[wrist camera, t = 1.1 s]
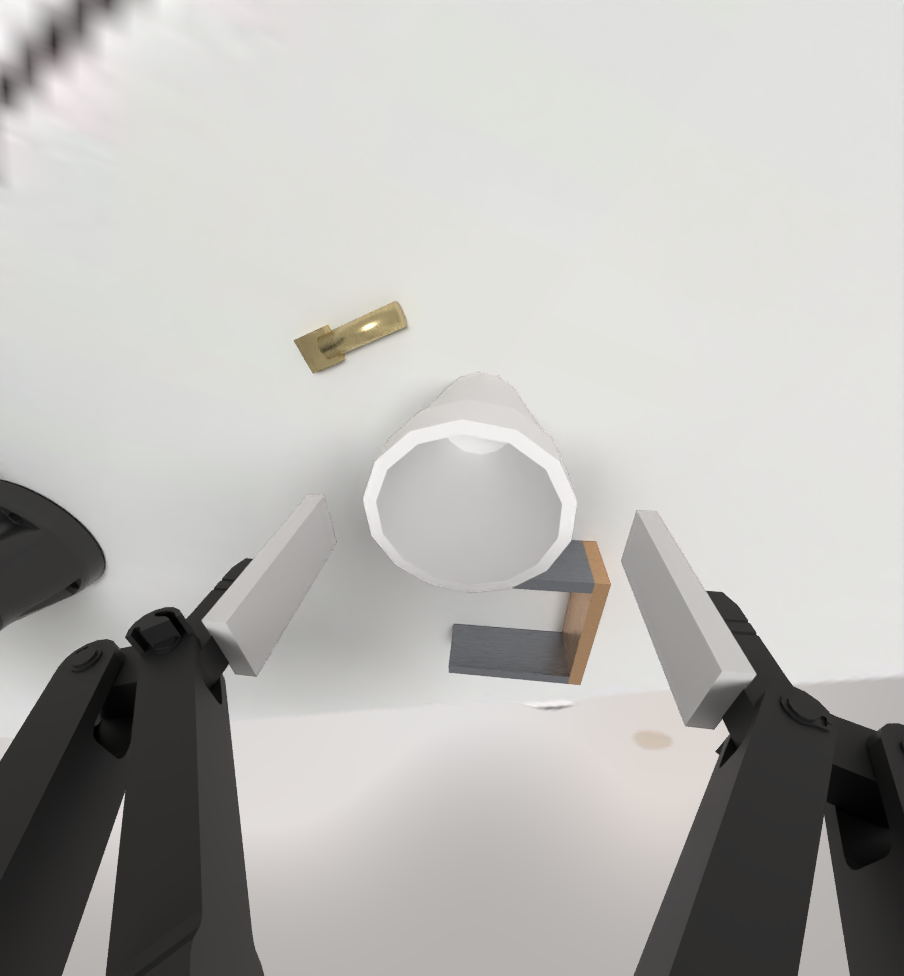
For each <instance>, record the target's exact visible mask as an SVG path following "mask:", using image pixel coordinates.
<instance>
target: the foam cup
mask: <svg viewBox="0 0 904 976" xmlns="http://www.w3.org/2000/svg"><path fill="white" fill-rule="evenodd" d="M363 502H364V507H365V511H366V515H367V519H368V523H369V528H370V532H371V536H372V537H373V538H374V539H375V541H376V542H377V543H378V544H379V546H380V547H381V548H382V549H383V550H384V552H385V553H386V554H387V555H388V556H389V558H390V559H391V560H392V561H393V563H394V564H395V565H396V566H398V567H400V568H401V569H403V570H405V571H407V572H409V573H410V574H412V575H414V576H416V577H417V578H419V579H421V580H423V581H424V582H426V583H428V584H430V585H433V586H438V587H443V588H448V589H453V590H458V591H463V592H468V593H475V592H484V591H493V590H501V589H510V588H513V587H515V586H517V585H519V584H521V583H523V582H525V581H527V580H529V579H531V578H533V577H535V576H537V575H539V574H541V573H543V572H545V571H547V570H548V569H549V567H550V566H551V565H552V564H553V563H554V561H555V560H556V559H557V558H558V556H559V555H560V554H561V553H562V552H563V550H564V549H565V548H566V547H567V545H568V544H569V543H570V542H571V539H572V533H573V526H574V520H575V513H576V507H577V499H576V496H575V493H574V490H573V487H572V484H571V481H570V478H569V475H568V472H567V470H566V468H565V465H564V463H563V461H562V459H561V456H560V454H559V452H558V450H557V447H556V445H555V443H554V441H553V438H552V436H551V435H549V434H548V433H547V432H545V431H544V430H543V429H541V428H540V426H539V425H538V423H537V421H536V420H535V418H534V417H533V415H532V414H531V412H530V411H529V409H528V408H527V406H526V404H525V403H524V401H523V400H522V398H521V397H520V395H519V394H518V392H517V391H516V389H515V388H514V387H513V386H512V385H510V384H509V383H508V382H506V381H505V380H504V379H503V378H501V377H500V376H498V375H493V374H488V373H483V372H477V373H473V374H469V375H465V376H462V377H459V378H458V379H457V380H456V381H455V382H454V383H452V384H451V385H450V386H449V387H448V388H447V389H446V390H444V391H443V392H442V393H441V394H440V395H439V396H438V397H437V398H436V399H435V400H434V401H433V402H432V403H431V404H430V405H429V406H428V407H427V408H426V409H424V410H421V411H420V412H418V413H417V414H416V415H415V416H414V417H413V418H412V419H411V420H409V421H408V422H407V423H406V424H405V425H404V426H403V427H401V428H400V429H399V430H398V431H397V432H396V433H395V434H394V435H392V436H391V437H390V438H389V440H388V441H387V443H386V444H385V446H384V448H383V449H382V451H381V453H380V454H379V456H378V457H377V459H376V461H375V463H374V466H373V469H372V472H371V475H370V478H369V481H368V484H367V488H366V491H365V494H364V497H363Z"/></svg>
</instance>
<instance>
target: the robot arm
mask: <svg viewBox="0 0 904 976" xmlns="http://www.w3.org/2000/svg"><path fill="white" fill-rule="evenodd" d="M336 543H337V541H336V537H335V534H334V530H333V526H332V522H331V519H330V515H329V511H328V507H327V503H326V500H325V496H324V495H312V494H308V495H307V496H306V497H305V498H304V500H303V501H302V502H301V503H300V504H299V506H298V507H297V508H296V509H295V510H294V511H293V513H292V514H291V515H290V516H289V517H288V519H287V520H286V521H285V522H284V523H283V524H282V526H281V527H280V528H279V529H278V530H277V532H276V533H275V534H274V535H273V536H272V537H271V539H270V540H269V541H268V542H267V543H266V545H265V546H264V547H263V548H262V549H261V551H260V552H259V553H258V554H257V555H256V556H255V558H254V559H248V558H245V559H244V560H243V561H241V562H240V563H238V564H237V565H235V566H234V567H232V568H231V569H230V571H229V572H228V573H227V574H226V575H225V576H224V577H223V578H222V581H220V582H219V583H218V584H217V585H216V586H215V587H214V590H212V591H211V592H210V593H209V594H208V595H207V596H206V598H205V599H204V600H203V601H202V602H201V603H200V604H199V605H198V607H197V608H196V609H195V610H194V611H193V612H192V613H191V614H190V616H189V617H188V618H187V619H185V618H184V616H183V615H182V613H181V612H180V610H179V609H176V608H174V607H165V608H161V609H158V610H155V611H153V612H151V613H148V614H146V615H145V616H143V617H142V618H140V619H139V620H138V621H136V622H135V623H134V624H133V625H132V627H131V628H130V629H129V630H128V632H127V635H126V637H125V638H126V639H127V640H128V641H129V643H130V644H131V645H132V646H131V647H126V648H121V649H120V648H119V647H118V646H117V645H116V644H115V643H114V641H112V640H108V639H104V640H97V641H94V642H92V643H89V644H86V645H85V646H83V647H81V648H79V649H78V650H76V651H74V652H73V653H72V654H71V655H69V656H68V657H67V658H66V659H65V660H64V661H63V662H62V663H61V665H60V666H59V667H58V669H57V670H56V672H55V673H54V675H53V677H52V678H51V680H50V682H49V683H48V685H47V686H46V688H45V690H44V691H43V693H42V694H41V696H40V698H39V699H38V701H37V703H36V704H35V706H34V707H33V709H32V711H31V712H30V714H29V715H28V717H27V719H26V720H25V722H24V724H23V725H22V727H21V728H20V730H19V732H18V733H17V735H16V737H15V738H14V740H13V741H12V743H11V745H10V746H9V748H8V749H7V751H6V753H5V754H4V756H3V758H2V759H1V761H0V976H62V973H63V970H64V967H65V964H66V962H67V959H68V956H69V953H70V950H71V947H72V944H73V941H74V938H75V935H76V932H77V930H78V927H79V924H80V921H81V918H82V915H83V912H84V909H85V906H86V903H87V901H88V898H89V894H90V892H91V889H92V886H93V883H94V880H95V877H96V874H97V871H98V868H99V866H100V863H101V860H102V857H103V854H104V851H105V848H106V845H107V842H108V839H109V837H110V833H111V831H112V828H113V825H114V822H115V819H116V816H117V813H118V810H119V807H120V805H121V802H122V799H123V796H124V793H125V801H124V810H123V819H122V828H121V838H120V847H119V856H118V866H117V875H116V884H115V893H114V903H113V913H112V921H111V922H112V923H111V931H110V941H109V949H108V959H107V968H106V976H264V973H263V969H262V965H261V963H260V960H259V958H258V955H257V953H256V950H255V946H254V942H253V935H252V928H251V917H250V908H249V899H248V889H247V880H246V871H245V862H244V852H243V843H242V834H241V824H240V815H239V806H238V796H237V787H236V778H235V769H234V759H233V750H232V741H231V731H230V722H229V713H228V703H227V694H226V685H225V679H224V677H223V675H222V673H223V672H224V670H225V669H226V667H227V666H228V664H229V665H230V667H231V668H232V670H233V671H234V673H235V674H238V675H247V676H255V677H257V675H258V674H259V672H260V670H261V669H262V667H263V665H264V664H265V662H266V660H267V659H268V657H269V655H270V654H271V652H272V650H273V649H274V647H275V645H276V644H277V642H278V640H279V639H280V637H281V635H282V634H283V632H284V630H285V629H286V627H287V625H288V623H289V622H290V620H291V618H292V617H293V615H294V613H295V612H296V610H297V608H298V607H299V605H300V603H301V602H302V600H303V598H304V597H305V595H306V593H307V592H308V590H309V588H310V587H311V585H312V583H313V582H314V580H315V578H316V577H317V575H318V573H319V572H320V570H321V568H322V567H323V565H324V563H325V561H326V560H327V558H328V556H329V555H330V553H331V551H332V550H333V548H334V546H335V545H336ZM621 562H622V565H623V568H624V570H625V573H626V575H627V578H628V580H629V583H630V586H631V588H632V591H633V593H634V596H635V598H636V601H637V604H638V606H639V609H640V611H641V614H642V616H643V619H644V622H645V624H646V627H647V629H648V632H649V635H650V637H651V640H652V642H653V645H654V647H655V650H656V653H657V655H658V658H659V660H660V663H661V665H662V668H663V671H664V673H665V676H666V678H667V681H668V683H669V686H670V689H671V691H672V694H673V696H674V699H675V701H676V704H677V706H678V709H679V712H680V714H681V717H682V719H683V722H684V724H685V726H688V727H697V728H706V729H715V728H716V727H717V725H718V724H719V723H720V721H721V720H722V719H723V721H724V723H725V725H726V727H727V729H728V731H729V733H730V735H729V736H728V737H727V738H726V739H725V741H724V742H723V743H722V744H721V746H720V747H719V748H718V749H717V750H716V753H718V754H719V758H718V760H717V763H716V766H715V768H714V771H713V773H712V776H711V779H710V781H709V784H708V786H707V789H706V791H705V794H704V796H703V799H702V801H701V804H700V807H699V809H698V812H697V814H696V817H695V820H694V822H693V825H692V827H691V830H690V832H689V835H688V837H687V840H686V843H685V845H684V848H683V850H682V853H681V855H680V858H679V860H678V863H677V866H676V868H675V871H674V873H673V876H672V878H671V881H670V884H669V886H668V889H667V891H666V894H665V896H664V899H663V902H662V904H661V907H660V909H659V912H658V914H657V917H656V919H655V922H654V925H653V927H652V930H651V932H650V935H649V937H648V940H647V943H646V945H645V948H644V950H643V953H642V955H641V958H640V961H639V963H638V966H637V968H636V971H635V973H634V976H798V969H799V964H800V957H801V952H802V945H803V939H804V933H805V927H806V921H807V915H808V909H809V903H810V896H811V890H812V885H813V878H814V872H815V866H816V860H817V854H818V848H819V842H820V836H821V830H822V824H823V818H824V816H825V822H826V828H827V835H828V841H829V847H830V853H831V860H832V866H833V872H834V878H835V884H836V891H837V897H838V903H839V909H840V916H841V922H842V928H843V935H844V941H845V947H846V953H847V960H848V966H849V972H850V976H904V725H902V724H897V723H896V724H895V723H894V724H886V725H885V726H883V727H882V728H881V729H879V730H878V731H875V730H872V729H869V728H866V727H864V726H861V725H858V724H855V723H853V722H850V721H847V720H844V719H842V718H839V717H836V716H834V715H832V714H830V713H829V711H828V710H827V709H826V708H825V707H824V706H823V705H822V704H821V703H820V702H819V701H818V700H816V699H814V698H813V697H812V696H810V695H809V694H808V693H806V692H805V691H802V690H800V689H798V688H796V687H793V685H792V684H791V683H790V682H789V680H788V679H787V677H786V676H785V674H784V673H783V671H782V670H781V668H780V667H779V665H778V664H777V662H776V661H775V660H774V658H773V657H772V655H771V654H770V652H769V651H768V649H767V648H766V646H765V645H764V643H763V642H762V640H761V639H760V637H759V636H757V635H756V631H755V630H754V629H753V627H752V626H751V624H750V623H748V620H747V618H746V617H745V615H744V614H743V612H742V611H741V609H740V608H739V606H738V605H737V604H736V603H734V602H733V601H732V600H731V599H730V598H729V597H727V596H726V595H725V594H724V593H723V592H714V591H705V589H704V587H703V586H702V584H701V582H700V581H699V579H698V577H697V576H696V574H695V572H694V571H693V569H692V568H691V566H690V564H689V563H688V561H687V559H686V558H685V556H684V554H683V553H682V551H681V550H680V548H679V546H678V545H677V543H676V541H675V540H674V538H673V536H672V535H671V533H670V532H669V530H668V528H667V527H666V525H665V523H664V522H663V520H662V518H661V517H660V515H659V514H658V512H657V511H644V510H637V511H636V514H635V517H634V520H633V524H632V527H631V530H630V533H629V536H628V540H627V543H626V546H625V549H624V553H623V556H622V559H621ZM103 570H104V559H103V556H102V553H101V551H100V549H99V547H98V545H97V544H96V542H95V541H94V539H93V538H92V537H91V536H90V534H89V533H88V532H87V531H86V530H85V529H84V528H83V527H82V526H81V525H80V524H79V523H78V522H77V521H76V520H75V519H73V518H72V517H71V516H70V515H69V514H67V513H66V512H65V511H63V510H62V509H61V508H59V507H58V506H56V505H55V504H53V503H52V502H50V501H48V500H47V499H45V498H43V497H41V496H39V495H38V494H36V493H34V492H32V491H29V490H27V489H25V488H22V487H20V486H17V485H14V484H11V483H8V482H4V481H0V630H2V629H3V628H5V627H6V626H7V625H9V624H11V623H13V622H14V621H17V620H19V619H21V618H23V617H26V616H28V615H30V614H32V613H34V612H37V611H39V610H41V609H43V608H46V607H48V606H50V605H52V604H55V603H57V602H59V601H61V600H63V599H66V598H68V597H70V596H72V595H75V594H77V593H79V592H80V591H82V590H83V589H85V588H86V587H87V586H89V585H90V584H91V583H92V582H94V581H95V580H96V579H97V578H99V577H100V576H101V574H102V573H103ZM125 790H126V791H125Z"/></svg>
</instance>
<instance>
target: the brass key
mask: <svg viewBox="0 0 904 976" xmlns="http://www.w3.org/2000/svg"><path fill="white" fill-rule="evenodd" d="M406 326H407V321H406V317H405V315H404V312H403V310H402V308H401V306H400V304H399V303H398V302H397V301H394V302H392V303H390V304H388V305H386V306H384V307H381V308H379V309H377V310H375V311H373V312H370V313H368V314H366V315H364V316H362V317H360V318H357V319H355V320H353V321H351V322H349V323H347V324H344V325H342V326H340V327H338V328H336V329H334V330H331V329H330V327H329V325H326V326H324V327H322V328H319V329H317V330H315V331H313V332H311V333H309V334H307V335H304V336H302V337H300V338H298V339H296V340H294V342H295V344H296V345H297V347H298V349H299V350H300V352H301V354H302V356H303V357H304V359H305V361H306V363H307V364H308V366H309V368H310V369H311V371H312V373H313V374H314V373H316V372H318V371H321V370H323V369H325V368H328V367H330V366H332V365H335V364H337V363H340V362H342V361H343V360H344V359H346V358H345V356H344V353H346V352H349V351H351V350H353V349H356V348H358V347H360V346H362V345H365V344H367V343H369V342H372V341H374V340H376V339H379V338H381V337H383V336H386V335H388V334H390V333H393V332H395V331H397V330H399V329H402V328H404V327H406Z"/></svg>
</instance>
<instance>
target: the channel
mask: <svg viewBox="0 0 904 976" xmlns="http://www.w3.org/2000/svg"><path fill="white" fill-rule="evenodd" d="M610 586H611V583H610V580H609V577H608V574H607V571H606V568H605V566H604V563H603V560H602V557H601V554H600V551H599V548H598V545H597V542H590V541H571V542H570V543H569V544H568V545H567V547H566V548H565V549H564V550H563V552H562V553H561V554H560V555H559V556H558V558H557V559H556V560H555V561H554V563H553V564H552V565H551V566H550V567H549V569H548V570H547V571H545V572H543V573H541V574H539V575H537V576H535V577H533V578H531V579H529V580H527V581H525V582H523V583H521V584H519V585H517V586H515V587H513V588H515V589H530V590H545V591H560V592H571V595H570V600H569V604H568V609H567V613H566V618H565V622H564V627H563V631H562V633H561V632H548V631H535V630H523V629H510V628H498V627H485V626H473V625H460V624H454V628H453V635H452V643H451V651H450V659H449V673H459V674H469V675H480V676H490V677H501V678H511V679H522V680H532V681H543V682H554V683H564V684H575V685H580V684H581V681H582V678H583V674H584V671H585V668H586V665H587V661H588V658H589V655H590V651H591V648H592V645H593V642H594V638H595V635H596V632H597V628H598V625H599V622H600V619H601V615H602V612H603V609H604V605H605V602H606V599H607V596H608V592H609V589H610Z"/></svg>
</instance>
